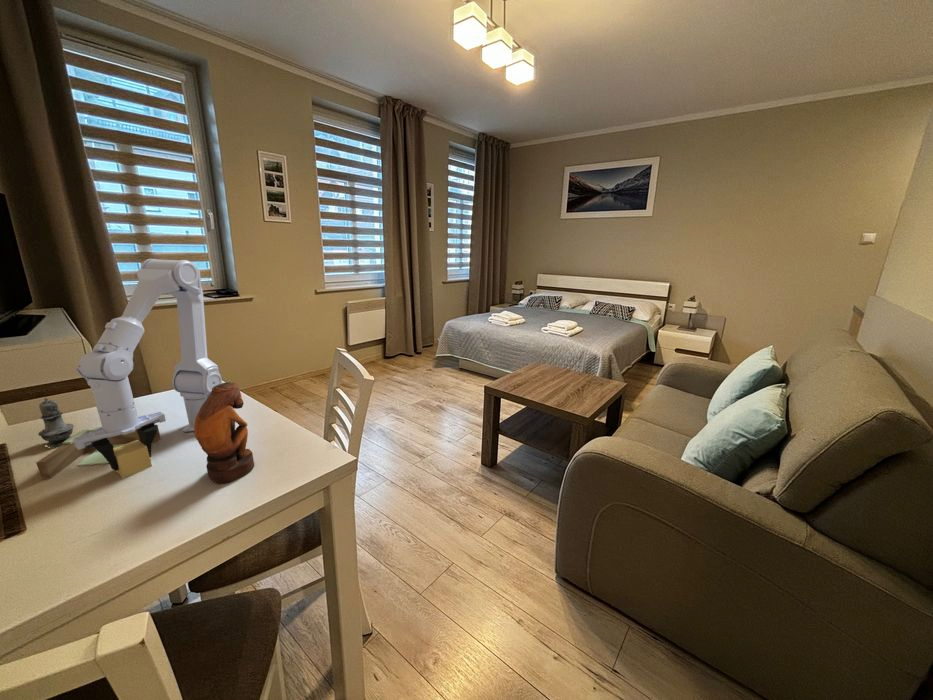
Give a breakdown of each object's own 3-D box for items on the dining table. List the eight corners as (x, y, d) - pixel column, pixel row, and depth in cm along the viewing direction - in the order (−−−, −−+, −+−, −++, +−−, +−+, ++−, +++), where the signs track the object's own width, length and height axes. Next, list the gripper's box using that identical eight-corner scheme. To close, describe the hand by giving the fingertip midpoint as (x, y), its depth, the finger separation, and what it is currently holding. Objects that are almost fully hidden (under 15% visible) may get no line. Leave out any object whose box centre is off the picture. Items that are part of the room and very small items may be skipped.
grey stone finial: (54, 450, 87) (39, 404, 83) (35, 447, 88) (19, 401, 84) (84, 438, 92) (70, 394, 89) (66, 435, 94) (51, 391, 90)
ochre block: (142, 458, 85) (137, 439, 83) (152, 466, 82) (147, 446, 81) (114, 469, 81) (108, 449, 79) (123, 477, 78) (117, 457, 77)
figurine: (264, 463, 85) (251, 382, 79) (225, 488, 76) (208, 400, 70) (235, 455, 87) (221, 376, 81) (195, 478, 79) (176, 392, 73)
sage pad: (141, 443, 91) (141, 442, 91) (120, 462, 83) (120, 460, 83) (102, 446, 89) (102, 445, 89) (78, 466, 82) (77, 464, 81)
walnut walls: (160, 438, 93) (156, 422, 92) (126, 470, 80) (121, 453, 79) (89, 444, 90) (84, 427, 88) (42, 479, 77) (35, 460, 76)
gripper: (74, 425, 69) (93, 486, 73) (166, 399, 81) (178, 452, 85) (62, 415, 73) (81, 474, 77) (152, 391, 85) (165, 443, 88)
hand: (131, 462), depth 81 cm, fingers closed on ochre block, 5 cm apart
